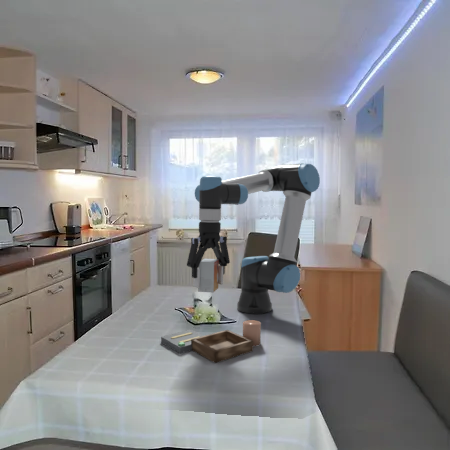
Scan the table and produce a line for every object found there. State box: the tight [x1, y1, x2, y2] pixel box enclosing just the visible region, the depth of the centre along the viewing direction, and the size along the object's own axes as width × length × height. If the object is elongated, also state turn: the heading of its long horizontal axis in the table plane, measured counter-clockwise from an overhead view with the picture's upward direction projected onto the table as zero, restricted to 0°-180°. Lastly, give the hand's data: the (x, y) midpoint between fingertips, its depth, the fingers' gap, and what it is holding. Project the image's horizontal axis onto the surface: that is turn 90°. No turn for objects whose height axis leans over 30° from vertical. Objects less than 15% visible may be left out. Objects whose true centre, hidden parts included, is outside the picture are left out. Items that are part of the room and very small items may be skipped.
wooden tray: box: [191, 329, 254, 364], centre depth 131 cm, size 15×13×4 cm
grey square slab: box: [160, 329, 204, 354], centre depth 137 cm, size 12×12×3 cm
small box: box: [197, 258, 219, 293], centre depth 142 cm, size 8×6×10 cm
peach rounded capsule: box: [242, 319, 262, 347], centre depth 138 cm, size 6×6×7 cm
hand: (208, 285), depth 142 cm, fingers closed on small box, 9 cm apart
